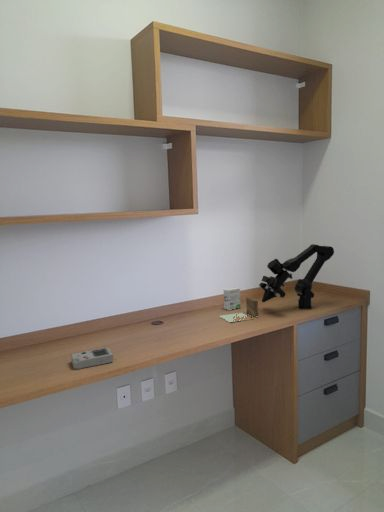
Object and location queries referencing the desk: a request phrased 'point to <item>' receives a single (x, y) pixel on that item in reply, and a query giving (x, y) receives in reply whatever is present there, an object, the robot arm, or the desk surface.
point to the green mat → (230, 316)
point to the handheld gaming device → (91, 358)
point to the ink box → (231, 298)
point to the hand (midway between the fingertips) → (262, 301)
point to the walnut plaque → (252, 307)
